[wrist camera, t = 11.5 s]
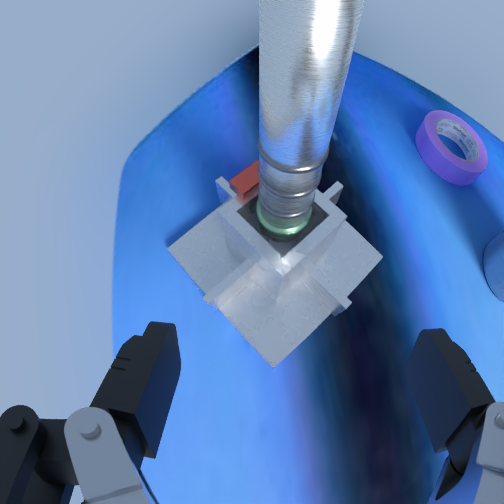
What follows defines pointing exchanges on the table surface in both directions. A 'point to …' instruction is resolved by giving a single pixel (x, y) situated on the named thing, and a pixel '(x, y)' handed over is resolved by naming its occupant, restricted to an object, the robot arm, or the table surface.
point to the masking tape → (442, 157)
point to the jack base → (274, 266)
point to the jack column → (299, 103)
